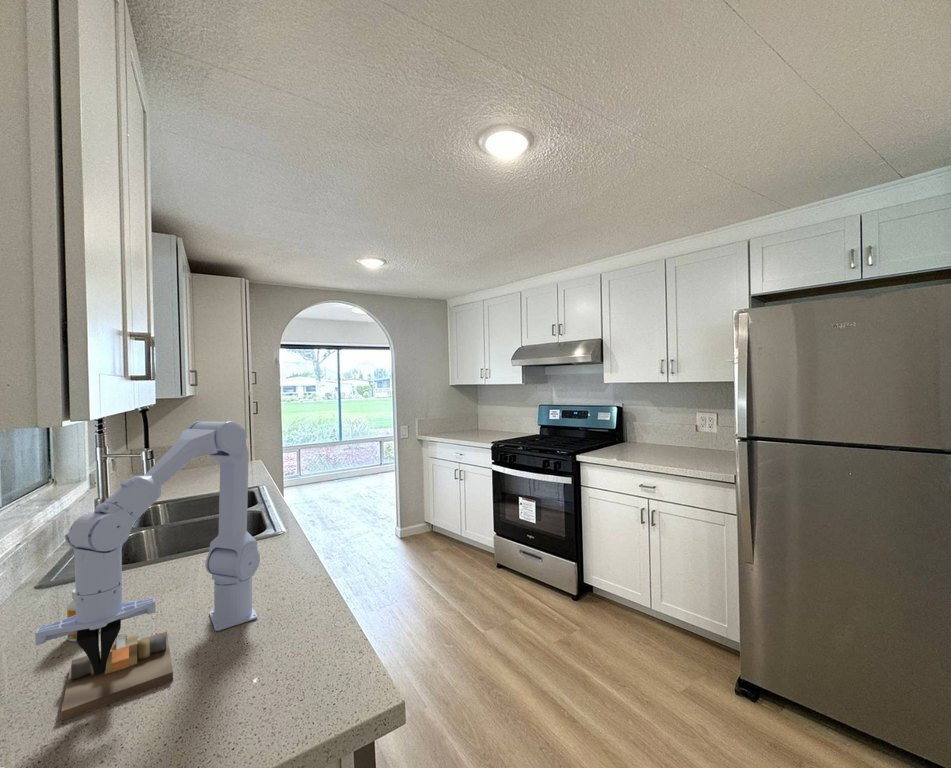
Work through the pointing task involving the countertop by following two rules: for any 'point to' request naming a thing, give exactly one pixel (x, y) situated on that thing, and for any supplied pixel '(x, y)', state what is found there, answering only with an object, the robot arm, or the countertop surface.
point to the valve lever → (120, 654)
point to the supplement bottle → (72, 612)
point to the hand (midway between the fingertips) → (100, 670)
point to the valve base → (118, 676)
